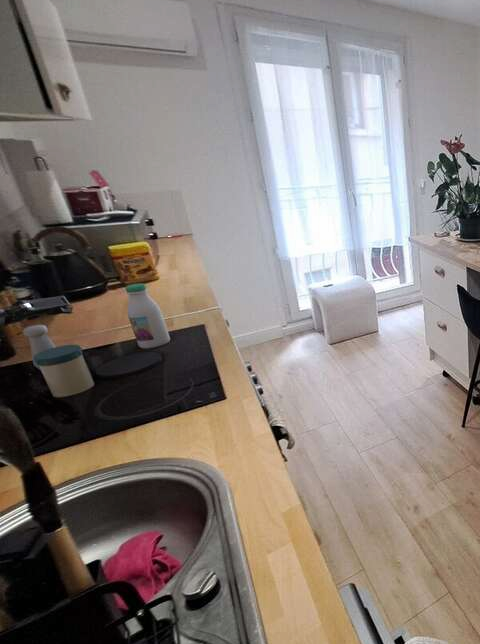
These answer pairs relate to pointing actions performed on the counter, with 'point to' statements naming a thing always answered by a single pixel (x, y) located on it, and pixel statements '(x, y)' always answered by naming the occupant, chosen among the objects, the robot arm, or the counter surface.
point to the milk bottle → (146, 318)
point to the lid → (57, 355)
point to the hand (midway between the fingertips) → (33, 322)
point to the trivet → (128, 365)
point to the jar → (68, 377)
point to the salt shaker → (38, 339)
